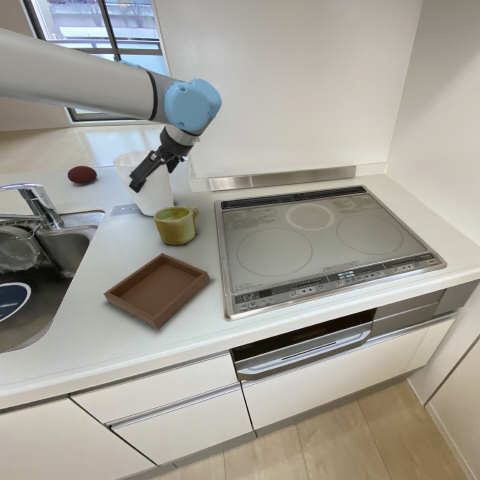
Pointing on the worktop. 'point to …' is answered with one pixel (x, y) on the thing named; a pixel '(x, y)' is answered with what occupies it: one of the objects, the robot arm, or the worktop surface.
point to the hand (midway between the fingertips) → (151, 179)
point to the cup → (155, 187)
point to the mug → (176, 224)
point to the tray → (158, 289)
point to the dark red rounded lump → (82, 174)
